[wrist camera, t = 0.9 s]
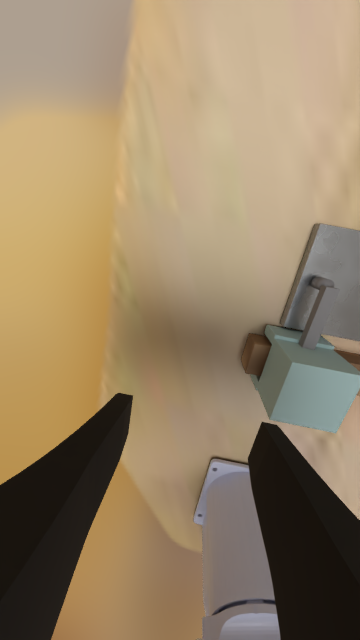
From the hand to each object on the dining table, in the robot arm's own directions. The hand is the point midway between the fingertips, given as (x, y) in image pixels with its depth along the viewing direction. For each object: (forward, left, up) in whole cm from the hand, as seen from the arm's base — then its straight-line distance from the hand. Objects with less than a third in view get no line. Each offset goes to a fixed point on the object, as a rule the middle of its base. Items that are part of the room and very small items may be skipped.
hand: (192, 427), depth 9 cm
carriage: (+2, -7, -9) cm, 12 cm away
